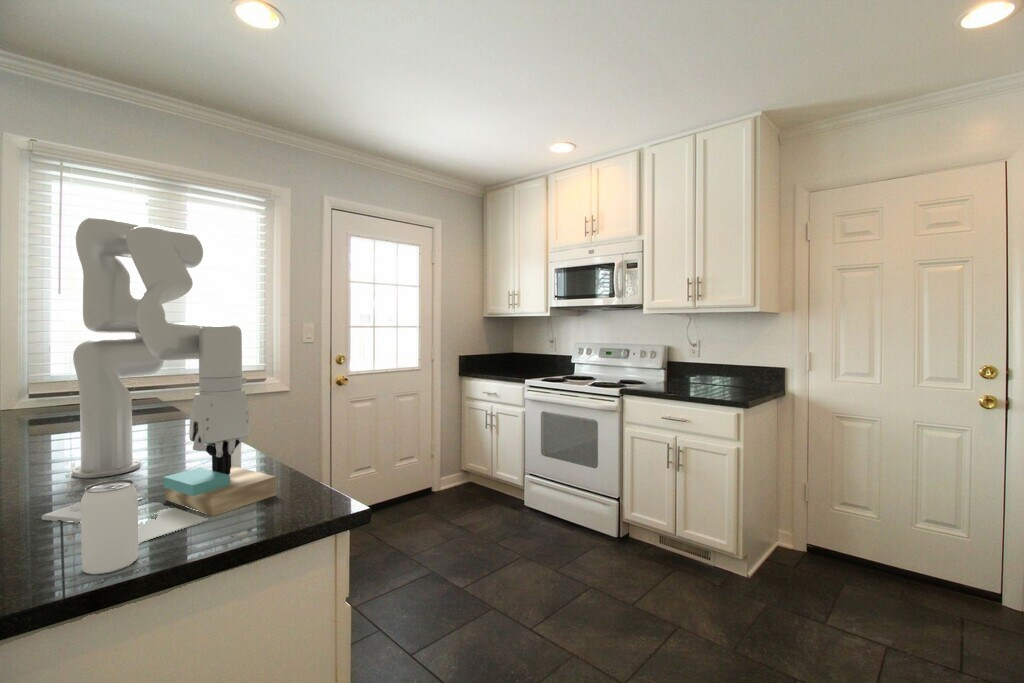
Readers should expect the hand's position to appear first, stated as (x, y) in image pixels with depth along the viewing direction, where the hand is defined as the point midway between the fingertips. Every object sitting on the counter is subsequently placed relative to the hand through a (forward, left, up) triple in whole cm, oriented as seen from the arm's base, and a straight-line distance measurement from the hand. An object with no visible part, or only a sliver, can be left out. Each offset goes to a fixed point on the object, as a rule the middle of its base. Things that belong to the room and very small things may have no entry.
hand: (221, 474), depth 100 cm
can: (+13, -25, -5) cm, 28 cm away
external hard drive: (-15, -15, -6) cm, 22 cm away
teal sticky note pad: (0, -5, -1) cm, 5 cm away
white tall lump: (-15, +10, -5) cm, 19 cm away
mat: (0, -14, -5) cm, 14 cm away
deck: (0, 0, -5) cm, 5 cm away
